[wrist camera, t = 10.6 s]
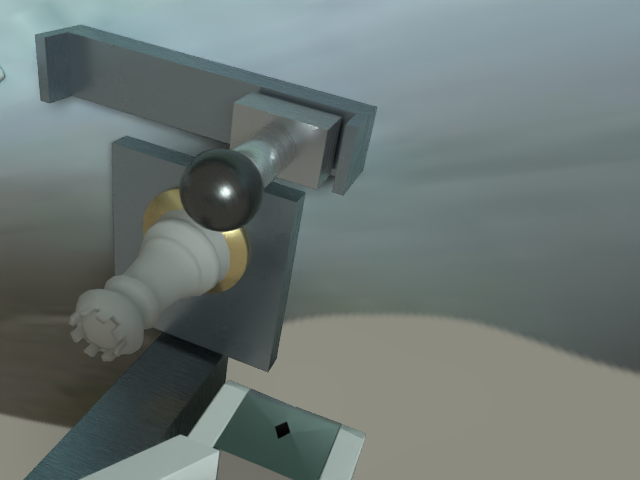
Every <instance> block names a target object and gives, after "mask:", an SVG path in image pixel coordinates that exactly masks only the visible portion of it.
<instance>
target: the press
mask: <svg viewBox="0 0 640 480" xmlns="http://www.w3.org/2000/svg"><path fill="white" fill-rule="evenodd" d="M35 41H36V53H37V64H38V76H39V87H40V99H41V101H44V102H47V103H52V102H55V101H58V100H61V99H63V98H66V97H69V96H75V97H78V98H82V99H85V100H88V101H91V102H95V103H98V104H101V105H104V106H108V107H111V108H114V109H117V110H121V111H124V112H127V113H130V114H134V115H137V116H140V117H143V118H147V119H150V120H153V121H156V122H160V123H163V124H166V125H169V126H173V127H176V128H179V129H182V130H186V131H189V132H192V133H195V134H199V135H202V136H205V137H208V138H212V139H215V140H218V141H221V142H225V143H228V144H230V139H231V128H232V118H233V107H234V102H236V101H237V100H239V99H241V98H243V97H245V96H246V95H248V94H250V93H252V92H256V93H260V94H263V95H267V96H270V97H274V98H277V99H281V100H284V101H288V102H291V103H295V104H298V105H302V106H305V107H309V108H312V109H316V110H319V111H323V112H326V113H330V114H333V115H337V116H340V117H342V119H341V124H340V129H339V134H338V140H337V145H336V150H335V155H334V160H333V165H332V170H331V174H330V175H332V176H335V180H334V185H333V190H332V192H333V193H337V194H340V195H344V194H345V193H346V192H347V190H348V189H349V188H350V186H351V185H352V184H353V182H354V181H355V180H356V178H357V177H358V176H359V174H360V173H361V172H362V171H363V167H364V163H365V158H366V154H367V150H368V145H369V141H370V136H371V132H372V128H373V123H374V119H375V114H376V110H377V107H375V106H371V105H368V104H364V103H360V102H357V101H353V100H350V99H346V98H342V97H339V96H335V95H332V94H328V93H324V92H321V91H317V90H314V89H310V88H306V87H303V86H299V85H296V84H292V83H288V82H285V81H281V80H278V79H274V78H270V77H267V76H263V75H260V74H256V73H253V72H249V71H245V70H242V69H238V68H235V67H231V66H227V65H224V64H220V63H217V62H213V61H209V60H206V59H202V58H199V57H195V56H191V55H188V54H184V53H181V52H177V51H173V50H170V49H166V48H163V47H159V46H155V45H152V44H148V43H145V42H141V41H137V40H134V39H130V38H127V37H123V36H119V35H116V34H112V33H109V32H105V31H101V30H98V29H94V28H91V27H87V26H84V25H77V26H73V27H68V28H64V29H59V30H54V31H50V32H45V33H40V34H36V35H35ZM194 158H195V157H192V156H189V155H185V154H182V153H179V152H176V151H173V150H170V149H167V148H163V147H160V146H157V145H154V144H151V143H148V142H144V141H141V140H138V139H135V138H132V137H129V136H125V137H123V138H121V139H119V140H117V141H115V142H113V143H112V170H113V216H114V262H115V276H119V275H122V274H124V273H125V272H126V271H127V269H128V268H129V267H130V266H131V265H132V264H133V262H134V261H135V260H136V259H137V258H138V254H139V251H140V249H141V244H142V241H143V239H144V236H145V233H146V232H147V230H148V228H149V227H150V226H152V225H153V224H154V223H155V222H157V220H158V219H159V218H160V217H161V216H162V215H164V214H165V213H166V212H167V211H173V210H179V209H184V208H183V205H182V203H181V199H180V193H179V186H180V180H181V176H182V174H183V172H184V170H185V168H186V166H187V165H188V164H189V163H190V161H191V160H192V159H194ZM304 198H305V192H302V191H299V190H296V189H293V188H289V187H286V186H283V185H280V184H277V183H274V182H270V183H269V184H268V185H267V186H266V187H265V188H264V197H263V202H262V205H261V207H260V209H259V211H258V213H257V214H256V216H255V217H254V218H253V219H252V220H251V221H250V222H249V223H248V224H246V225H245V226H243V227H241V228H239V229H237V230H233V231H229V232H222V233H223V234H224V237H225V240H226V242H227V245H228V247H229V251H230V268H229V270H228V272H227V274H226V276H225V277H224V279H223V280H221V281H220V282H218V283H216V285H215V287H213V288H212V289H210V290H209V291H207V292H206V293H204V294H202V295H200V296H192V297H189V298H185V299H179V300H177V301H176V302H174V303H173V304H171V305H170V306H169V307H167V308H166V309H165V310H164V311H163V312H162V313H161V314H160V317H159V319H158V321H157V324H156V325H155V326H153V328H156V329H158V330H161V331H163V333H162V334H161V335H160V336H159V337H158V338H157V339H156V340H155V341H154V343H153V344H152V345H151V346H150V347H149V348H148V349H147V350H146V351H145V352H144V353H143V354H142V355H141V356H140V357H139V358H138V359H137V360H136V362H135V363H134V364H133V365H132V366H131V367H130V368H129V369H128V370H127V371H126V372H125V373H124V374H123V375H122V376H121V377H120V378H119V379H118V381H117V382H116V383H115V384H114V385H113V386H112V387H111V388H110V389H109V390H108V391H107V392H106V393H105V394H104V395H103V396H102V397H101V398H100V400H99V401H98V402H97V403H96V404H95V405H94V406H93V407H92V408H91V409H90V410H89V411H88V412H87V413H86V414H85V415H84V416H83V417H82V419H81V420H80V421H79V422H78V423H77V424H76V425H75V426H74V427H73V428H72V429H71V430H70V431H69V432H68V433H67V434H66V436H64V438H63V439H62V440H61V441H60V442H59V443H58V444H57V445H56V446H55V447H54V448H53V449H52V450H51V451H50V452H49V453H48V454H47V455H46V456H45V458H44V459H43V460H42V461H41V462H40V463H39V464H38V465H37V466H36V467H35V468H34V469H33V470H32V471H31V472H30V473H29V475H28V476H27V477H26V478H25V479H24V480H79V479H82V478H84V477H86V476H88V475H91V474H93V473H95V472H97V471H99V470H102V469H104V468H106V467H108V466H111V465H113V464H115V463H117V462H120V461H122V460H124V459H126V458H129V457H131V456H133V455H135V454H138V453H140V452H142V451H144V450H147V449H149V448H151V447H153V446H155V445H158V444H160V443H162V442H164V441H167V440H169V439H171V438H173V437H176V436H178V435H180V434H181V435H183V436H186V437H187V436H188V435H189V433H190V432H191V430H192V429H193V428H194V426H195V425H196V423H197V422H198V420H199V419H200V417H201V416H202V415H203V413H204V412H205V410H206V409H207V407H208V406H209V405H210V403H211V402H212V400H213V399H214V397H215V396H216V395H217V393H218V392H219V390H220V389H221V387H222V386H223V385H224V384H225V380H226V371H227V363H228V357H230V358H233V359H235V360H238V361H241V362H243V363H245V364H248V365H251V366H253V367H256V368H258V369H261V370H263V371H266V372H268V371H269V370H270V368H271V367H272V365H273V364H274V362H275V360H276V358H277V352H278V347H279V341H280V335H281V330H282V324H283V318H284V312H285V307H286V301H287V295H288V290H289V284H290V278H291V272H292V267H293V261H294V255H295V249H296V244H297V238H298V232H299V226H300V221H301V215H302V209H303V203H304Z"/></svg>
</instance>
